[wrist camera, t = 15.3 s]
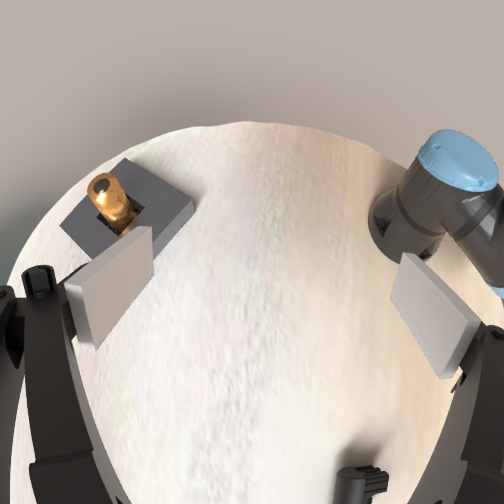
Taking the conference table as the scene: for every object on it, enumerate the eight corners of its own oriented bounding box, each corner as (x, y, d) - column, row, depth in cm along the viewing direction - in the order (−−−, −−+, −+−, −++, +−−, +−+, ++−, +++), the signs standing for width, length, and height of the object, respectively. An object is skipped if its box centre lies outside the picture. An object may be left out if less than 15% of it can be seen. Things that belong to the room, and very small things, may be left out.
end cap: (331, 467, 34) (344, 480, 28) (373, 462, 34) (391, 472, 28) (324, 517, 30) (335, 535, 24) (365, 511, 30) (381, 526, 24)
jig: (130, 170, 55) (124, 157, 51) (195, 212, 51) (192, 199, 47) (69, 235, 49) (59, 225, 45) (127, 291, 45) (118, 284, 41)
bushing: (127, 207, 51) (103, 168, 40) (145, 220, 50) (123, 180, 39) (109, 227, 49) (81, 191, 38) (126, 241, 48) (99, 205, 37)
